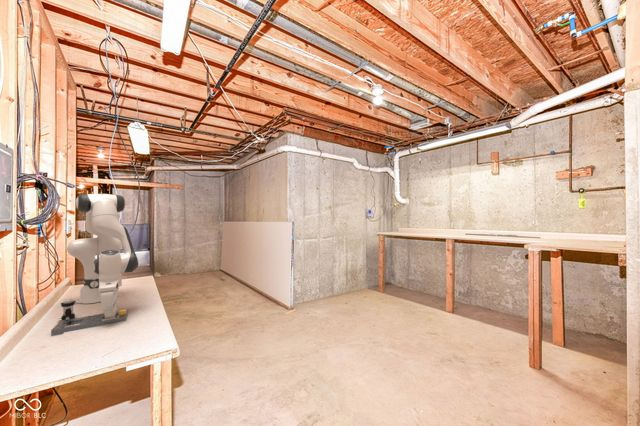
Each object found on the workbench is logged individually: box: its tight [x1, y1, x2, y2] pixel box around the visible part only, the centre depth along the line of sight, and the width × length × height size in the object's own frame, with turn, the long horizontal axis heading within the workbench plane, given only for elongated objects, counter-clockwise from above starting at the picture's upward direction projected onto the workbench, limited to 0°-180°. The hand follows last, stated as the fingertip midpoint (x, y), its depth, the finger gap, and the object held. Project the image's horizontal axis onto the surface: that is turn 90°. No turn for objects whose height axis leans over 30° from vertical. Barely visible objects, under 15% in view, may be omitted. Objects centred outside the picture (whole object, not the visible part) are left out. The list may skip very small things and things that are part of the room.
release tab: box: [118, 309, 127, 315], centre depth 130 cm, size 2×2×4 cm
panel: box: [50, 309, 129, 337], centre depth 124 cm, size 12×26×3 cm, turn 121°
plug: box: [104, 301, 117, 319], centre depth 128 cm, size 4×4×9 cm
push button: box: [57, 298, 77, 322], centre depth 130 cm, size 7×5×10 cm
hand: (110, 311), depth 128 cm, fingers open, 8 cm apart
